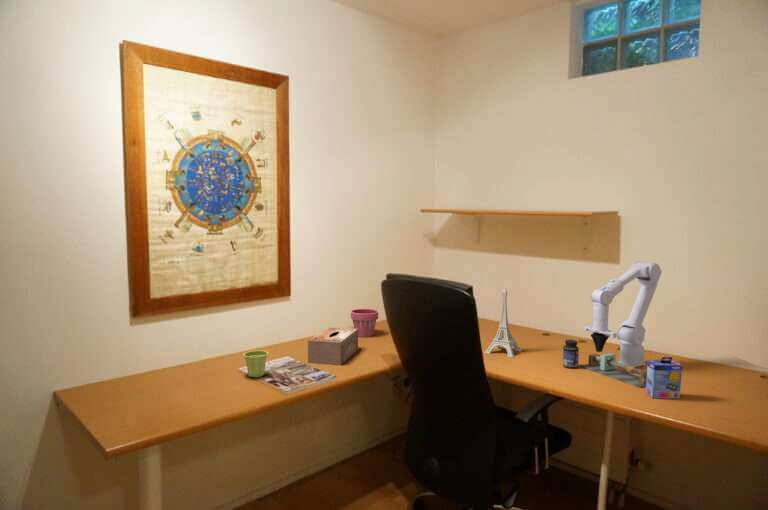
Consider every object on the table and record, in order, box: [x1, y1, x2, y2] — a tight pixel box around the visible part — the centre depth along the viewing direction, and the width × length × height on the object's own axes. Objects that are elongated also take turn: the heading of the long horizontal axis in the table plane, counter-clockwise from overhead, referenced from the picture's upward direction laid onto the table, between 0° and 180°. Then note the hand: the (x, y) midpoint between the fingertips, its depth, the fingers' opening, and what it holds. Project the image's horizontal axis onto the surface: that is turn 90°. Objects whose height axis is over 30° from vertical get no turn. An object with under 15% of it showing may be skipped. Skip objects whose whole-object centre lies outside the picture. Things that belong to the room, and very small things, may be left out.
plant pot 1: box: [243, 350, 269, 378], centre depth 200 cm, size 9×9×9 cm
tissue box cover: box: [307, 326, 359, 366], centre depth 227 cm, size 26×14×10 cm, turn 166°
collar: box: [600, 352, 617, 371], centre depth 206 cm, size 2×6×6 cm, turn 115°
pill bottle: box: [562, 339, 580, 370], centre depth 212 cm, size 6×6×11 cm
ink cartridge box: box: [645, 356, 683, 400], centre depth 179 cm, size 10×6×14 cm, turn 90°
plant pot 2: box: [350, 308, 379, 338], centre depth 265 cm, size 14×14×13 cm
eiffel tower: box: [484, 287, 523, 358], centre depth 234 cm, size 13×13×30 cm
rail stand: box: [580, 353, 647, 389], centre depth 202 cm, size 28×10×5 cm, turn 25°
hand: (599, 351), depth 210 cm, fingers closed
